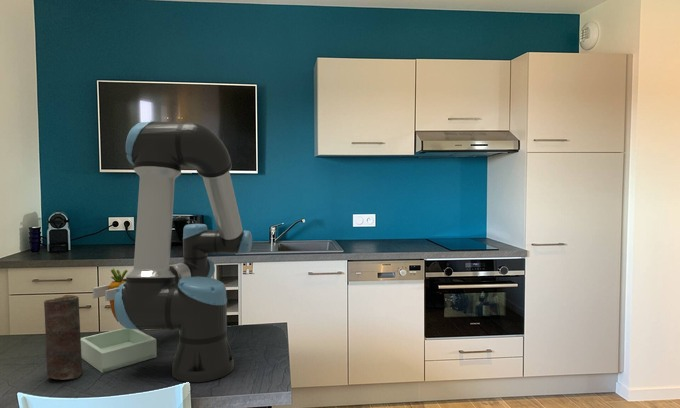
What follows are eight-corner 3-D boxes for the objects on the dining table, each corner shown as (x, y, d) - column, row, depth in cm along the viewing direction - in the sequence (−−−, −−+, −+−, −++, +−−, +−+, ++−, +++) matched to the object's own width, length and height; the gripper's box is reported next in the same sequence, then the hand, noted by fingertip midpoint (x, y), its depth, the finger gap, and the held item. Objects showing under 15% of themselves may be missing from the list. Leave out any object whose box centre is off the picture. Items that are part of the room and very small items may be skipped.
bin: (156, 356, 121) (156, 339, 121) (102, 373, 111) (102, 353, 111) (130, 342, 132) (130, 326, 132) (79, 356, 121) (79, 338, 121)
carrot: (132, 319, 124) (131, 266, 123) (122, 325, 119) (121, 270, 118) (116, 318, 125) (115, 266, 124) (105, 324, 120) (103, 269, 119)
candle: (46, 386, 103) (44, 302, 103) (45, 375, 109) (43, 295, 109) (84, 378, 108) (82, 297, 107) (80, 368, 114) (79, 291, 113)
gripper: (192, 293, 133) (121, 313, 113) (152, 285, 142) (80, 303, 121) (191, 268, 133) (120, 284, 112) (152, 262, 141) (79, 276, 121)
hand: (100, 294), depth 117 cm, fingers closed on carrot, 5 cm apart
